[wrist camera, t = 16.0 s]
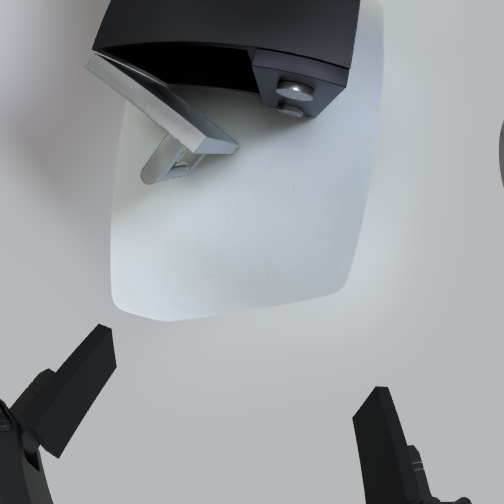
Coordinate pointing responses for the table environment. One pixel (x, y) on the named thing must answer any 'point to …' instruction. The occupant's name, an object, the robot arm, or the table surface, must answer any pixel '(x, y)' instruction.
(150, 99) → the microwave door
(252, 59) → the microwave
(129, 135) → the table surface
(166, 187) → the table surface
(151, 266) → the table surface
